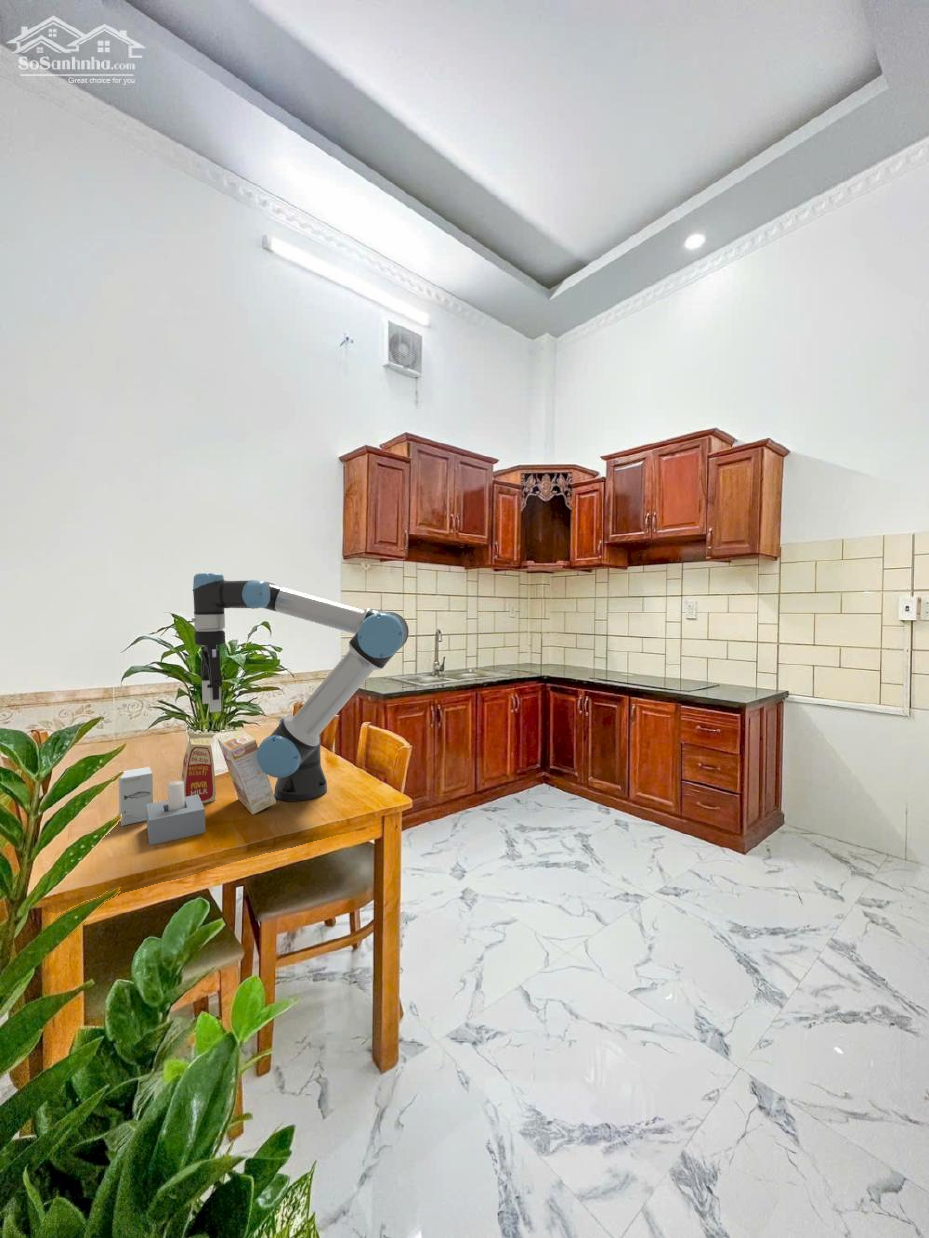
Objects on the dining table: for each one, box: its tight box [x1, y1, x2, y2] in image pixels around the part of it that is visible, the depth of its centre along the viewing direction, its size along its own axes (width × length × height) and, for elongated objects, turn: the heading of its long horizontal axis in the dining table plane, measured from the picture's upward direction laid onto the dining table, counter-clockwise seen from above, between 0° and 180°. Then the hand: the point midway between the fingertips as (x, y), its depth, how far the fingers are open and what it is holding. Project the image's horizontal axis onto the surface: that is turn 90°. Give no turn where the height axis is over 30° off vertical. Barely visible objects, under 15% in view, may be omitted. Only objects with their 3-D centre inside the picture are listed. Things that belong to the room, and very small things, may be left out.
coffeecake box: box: [217, 729, 277, 815], centre depth 147 cm, size 15×7×20 cm, turn 37°
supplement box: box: [118, 766, 154, 827], centre depth 139 cm, size 7×7×13 cm
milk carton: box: [180, 732, 217, 804], centre depth 153 cm, size 9×9×20 cm
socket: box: [146, 794, 206, 846], centre depth 132 cm, size 12×12×6 cm
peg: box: [167, 780, 185, 811], centre depth 132 cm, size 4×4×12 cm
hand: (211, 707), depth 143 cm, fingers open, 13 cm apart
